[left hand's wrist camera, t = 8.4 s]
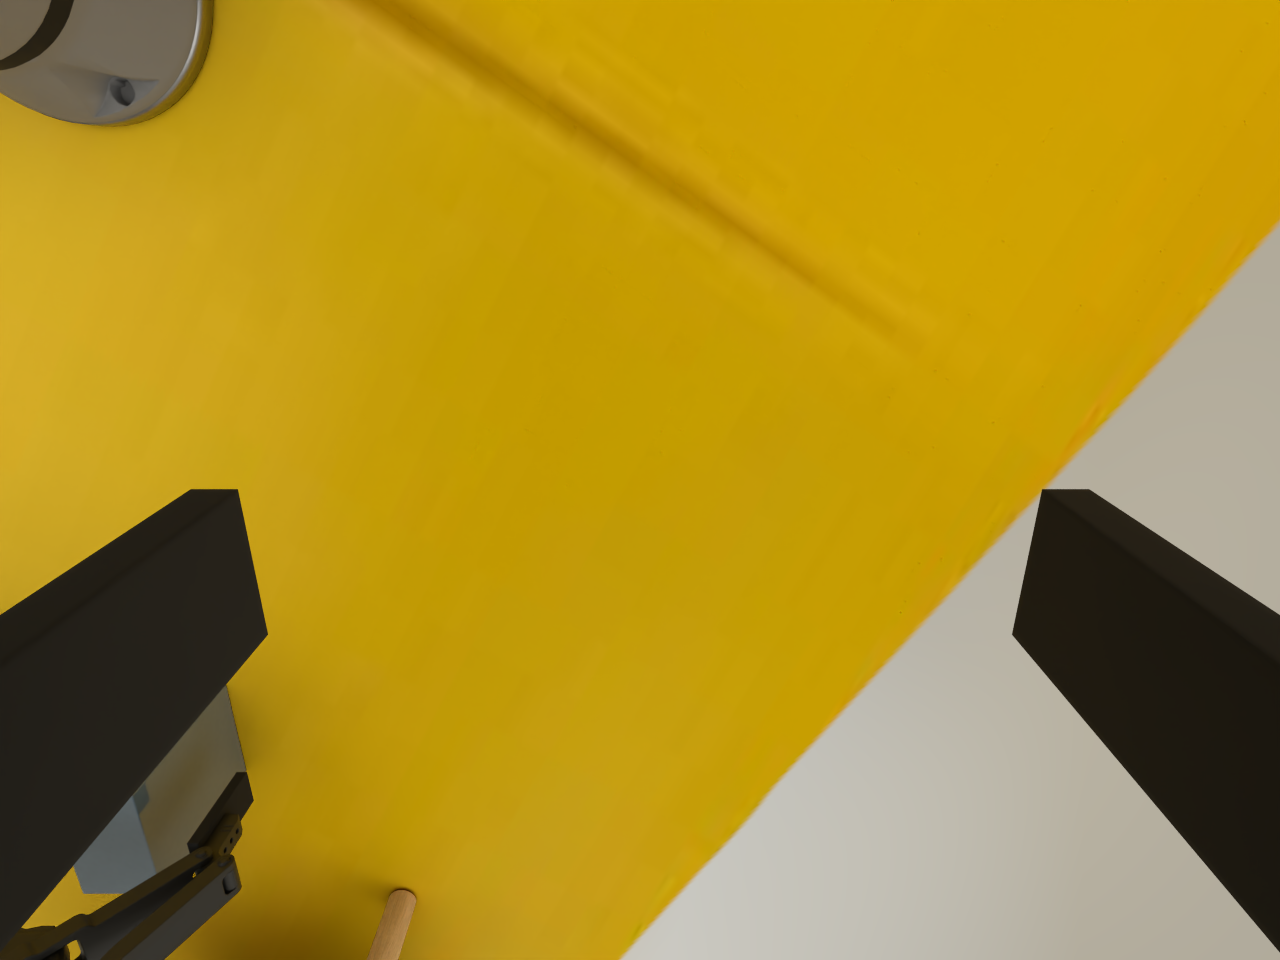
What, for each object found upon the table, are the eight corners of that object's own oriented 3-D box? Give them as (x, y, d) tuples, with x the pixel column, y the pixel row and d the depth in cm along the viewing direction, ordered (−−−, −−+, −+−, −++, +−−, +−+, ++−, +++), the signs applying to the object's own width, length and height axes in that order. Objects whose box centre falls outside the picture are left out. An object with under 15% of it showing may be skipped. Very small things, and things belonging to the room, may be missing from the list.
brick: (181, 770, 63) (82, 894, 52) (157, 684, 60) (47, 796, 49) (246, 770, 63) (162, 894, 52) (226, 684, 60) (132, 796, 49)
